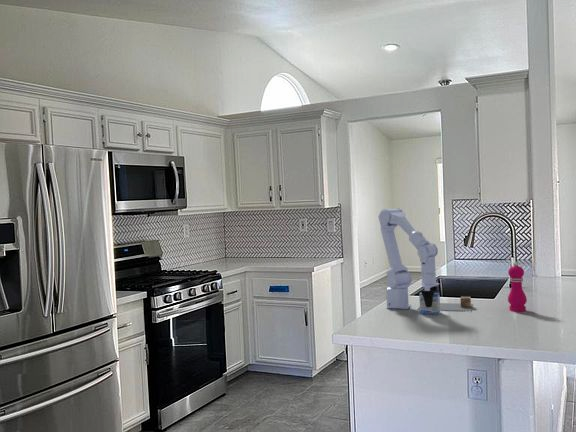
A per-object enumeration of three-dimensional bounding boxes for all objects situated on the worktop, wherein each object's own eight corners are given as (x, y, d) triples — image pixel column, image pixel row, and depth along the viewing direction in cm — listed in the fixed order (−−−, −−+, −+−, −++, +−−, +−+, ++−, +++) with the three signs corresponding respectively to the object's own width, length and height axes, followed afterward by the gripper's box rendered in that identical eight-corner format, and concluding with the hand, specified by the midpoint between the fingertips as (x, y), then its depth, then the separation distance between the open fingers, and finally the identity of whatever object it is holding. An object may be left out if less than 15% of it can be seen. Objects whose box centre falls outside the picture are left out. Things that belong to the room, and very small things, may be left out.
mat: (417, 310, 229) (417, 309, 229) (421, 303, 243) (421, 302, 243) (471, 311, 221) (471, 310, 221) (472, 304, 235) (472, 303, 235)
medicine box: (419, 314, 221) (418, 293, 221) (421, 312, 225) (420, 291, 225) (439, 315, 218) (438, 294, 218) (440, 312, 222) (439, 292, 222)
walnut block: (460, 307, 228) (460, 298, 228) (461, 305, 232) (460, 296, 232) (470, 307, 227) (470, 298, 227) (470, 305, 231) (470, 296, 231)
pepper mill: (527, 309, 221) (525, 261, 221) (527, 312, 214) (525, 263, 214) (508, 308, 224) (506, 261, 224) (507, 311, 218) (505, 263, 217)
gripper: (436, 275, 213) (438, 309, 213) (440, 270, 226) (441, 302, 227) (418, 275, 215) (420, 308, 216) (423, 270, 229) (424, 301, 229)
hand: (429, 305), depth 221 cm, fingers open, 7 cm apart
